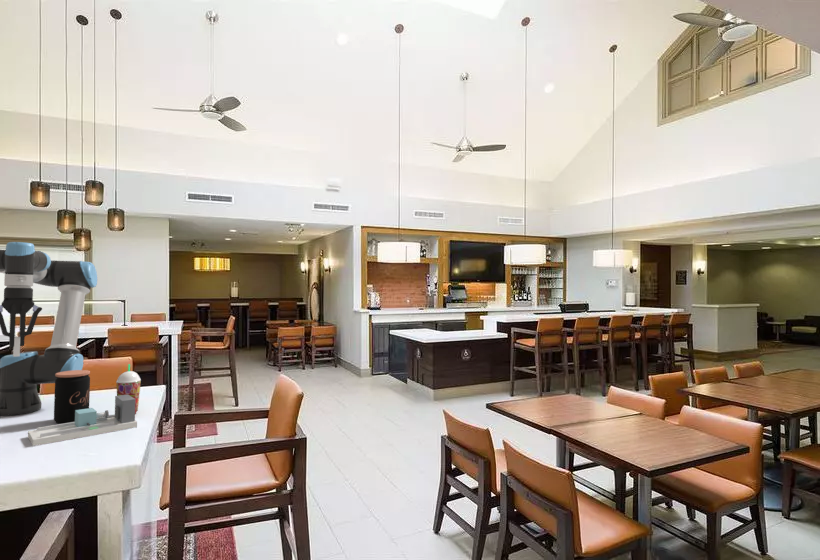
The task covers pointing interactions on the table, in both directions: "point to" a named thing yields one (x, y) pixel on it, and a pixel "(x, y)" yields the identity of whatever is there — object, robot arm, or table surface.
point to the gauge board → (103, 425)
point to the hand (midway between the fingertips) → (16, 355)
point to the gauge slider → (88, 417)
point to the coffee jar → (71, 394)
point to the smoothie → (129, 385)
